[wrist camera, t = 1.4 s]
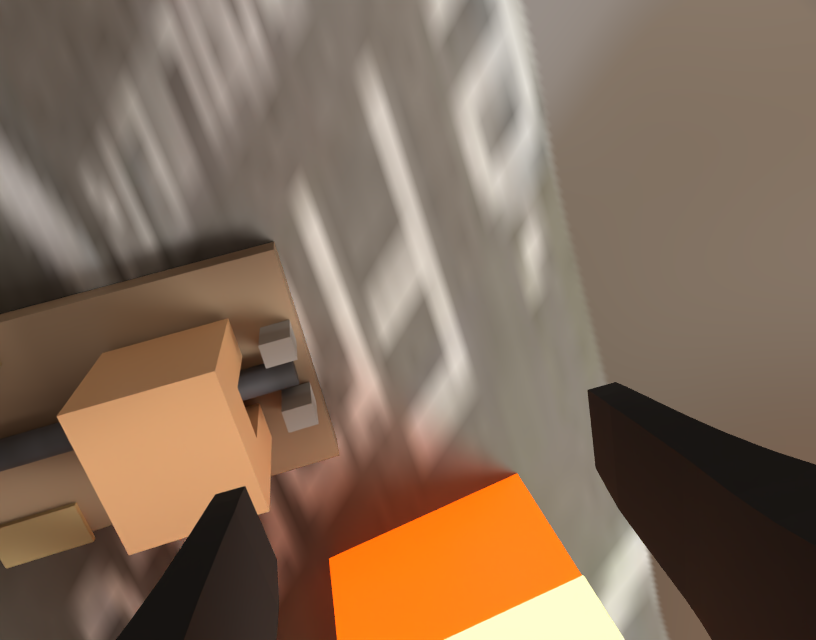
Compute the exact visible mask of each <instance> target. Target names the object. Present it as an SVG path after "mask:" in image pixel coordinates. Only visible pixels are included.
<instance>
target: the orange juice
mask: <svg viewBox="0 0 816 640" xmlns="http://www.w3.org/2000/svg"><path fill="white" fill-rule="evenodd" d="M329 564H330V574H331V583H332V593H333V603H334V613H335V623H336V633H337V640H624V638H623V636H622V635H621V633H620V632H619V630H618V628H617V627H616V625H615V624H614V622H613V621H612V619H611V618H610V616H609V614H608V613H607V611H606V610H605V608H604V607H603V605H602V603H601V602H600V600H599V599H598V597H597V596H596V594H595V592H594V591H593V589H592V588H591V586H590V585H589V583H588V581H587V580H586V578H585V577H584V575H581V573H580V572H579V570H578V568H577V567H576V565H575V564H574V562H573V561H572V559H571V557H570V556H569V554H568V553H567V551H566V550H565V548H564V546H563V545H562V543H561V542H560V540H559V539H558V537H557V535H556V534H555V532H554V531H553V529H552V527H551V526H550V524H549V523H548V521H547V520H546V518H545V516H544V515H543V513H542V512H541V510H540V509H539V507H538V505H537V504H536V502H535V501H534V499H533V498H532V496H531V494H530V493H529V491H528V490H527V488H526V487H525V485H524V483H523V482H522V480H521V479H520V477H519V475H518V474H515V475H512V476H510V477H508V478H506V479H504V480H501V481H499V482H497V483H495V484H493V485H490V486H488V487H486V488H484V489H482V490H479V491H477V492H475V493H473V494H471V495H468V496H466V497H464V498H462V499H459V500H457V501H455V502H453V503H451V504H448V505H446V506H444V507H442V508H440V509H437V510H435V511H433V512H431V513H429V514H426V515H424V516H422V517H420V518H417V519H415V520H413V521H411V522H409V523H406V524H404V525H402V526H400V527H398V528H395V529H393V530H391V531H389V532H387V533H384V534H382V535H380V536H378V537H376V538H373V539H371V540H369V541H367V542H364V543H362V544H360V545H358V546H356V547H353V548H351V549H349V550H347V551H345V552H342V553H340V554H338V555H336V556H334V557H331V558H329Z"/></svg>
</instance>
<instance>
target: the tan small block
mask: <svg viewBox="0 0 816 640" xmlns="http://www.w3.org/2000/svg"><path fill="white" fill-rule="evenodd" d="M241 362H242V354H241V352H240V349H239V346H238V343H237V341H236V338H235V335H234V333H233V330H232V327H231V324H230V322H229V319H228V318H227V319H224V320H220V321H217V322H213V323H209V324H206V325H202V326H198V327H195V328H191V329H188V330H184V331H180V332H177V333H173V334H170V335H166V336H162V337H159V338H155V339H152V340H148V341H144V342H141V343H137V344H133V345H130V346H126V347H123V348H119V349H115V350H112V351H108V352H105V353H102V354H101V356H100V357H99V358H98V360H97V361H96V362H95V364H94V365H93V367H92V368H91V369H90V371H89V372H88V374H87V375H86V376H85V378H84V379H83V380H82V382H81V383H80V385H79V386H78V387H77V389H76V390H75V391H74V393H73V394H72V396H71V397H70V398H69V400H68V401H67V403H66V404H65V405H64V407H63V408H62V409H61V411H60V412H59V414H58V415H57V418H58V420H59V422H60V424H61V426H62V428H63V430H64V432H65V434H66V436H67V438H68V439H69V441H70V443H71V445H72V447H73V449H74V451H75V453H76V455H77V457H78V459H79V461H80V463H81V464H82V466H83V468H84V470H85V472H86V474H87V476H88V478H89V480H90V482H91V484H92V486H93V488H94V489H95V491H96V493H97V495H98V497H99V499H100V501H101V503H102V505H103V507H104V509H105V511H106V513H107V514H108V516H109V518H110V520H111V522H112V524H113V526H114V528H115V530H116V532H117V534H118V536H119V537H120V539H121V541H122V543H123V545H124V547H125V549H126V551H127V553H128V555H131V554H135V553H138V552H141V551H144V550H147V549H151V548H154V547H157V546H160V545H163V544H167V543H170V542H173V541H176V540H179V539H183V538H186V537H188V536H189V535H190V533H191V531H192V530H193V528H194V527H195V525H196V524H197V522H198V520H199V519H200V517H201V516H202V514H203V513H204V511H205V509H206V508H207V506H208V505H209V503H210V502H211V500H212V499H213V497H214V496H215V494H218V493H222V492H225V491H229V490H232V489H236V488H239V487H243V486H245V487H246V489H247V491H248V493H249V496H250V498H251V500H252V503H253V505H254V507H255V510H256V512H257V514H258V515H259V514H263V513H266V512H269V511H270V480H271V449H272V436H271V434H270V431H269V428H268V425H267V423H266V420H265V417H264V414H263V412H262V409H261V406H260V404H259V403H258V404H255V405H252V406H248V407H245V406H244V403H243V401H242V398H241V395H240V393H239V390H238V381H239V375H240V368H241Z"/></svg>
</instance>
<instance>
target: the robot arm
mask: <svg viewBox="0 0 816 640" xmlns="http://www.w3.org/2000/svg"><path fill="white" fill-rule="evenodd" d="M588 399H589V409H590V418H591V428H592V437H593V447H594V456H595V466H596V469H597V471H598V473H599V475H600V477H601V478H602V480H603V482H604V484H605V486H606V488H607V489H608V491H609V493H610V495H611V496H612V498H613V500H614V502H615V503H616V505H617V507H618V509H619V510H620V511H621V513H622V514H623V516H624V517H625V518H626V520H627V521H628V523H629V524H630V525H631V527H632V528H633V529H634V531H635V532H636V533H637V535H638V536H639V538H640V539H641V540H642V542H643V543H644V544H645V546H646V547H647V548H648V550H649V551H650V552H651V554H652V555H653V556H654V558H655V559H656V560H657V562H658V563H659V564H660V566H661V567H662V568H663V570H664V571H665V572H666V574H667V575H668V576H669V578H670V579H671V580H672V582H673V583H674V585H675V586H676V587H677V589H678V590H679V591H680V593H681V594H682V595H683V596H684V598H685V599H686V601H687V602H688V604H689V605H690V607H691V608H692V609H693V611H694V612H695V614H696V615H697V617H698V618H699V620H700V621H701V623H702V624H703V626H704V627H705V629H706V631H707V633H708V634H709V636H710V637H711V639H712V640H816V465H815V464H812V463H809V462H806V461H802V460H800V459H796V458H793V457H790V456H787V455H784V454H781V453H778V452H775V451H772V450H769V449H767V448H764V447H761V446H758V445H756V444H753V443H751V442H748V441H746V440H743V439H741V438H738V437H736V436H733V435H730V434H728V433H725V432H723V431H721V430H718V429H716V428H713V427H711V426H709V425H707V424H704V423H702V422H700V421H698V420H696V419H693V418H691V417H689V416H687V415H684V414H682V413H680V412H678V411H676V410H674V409H671V408H670V407H668V406H665V405H663V404H661V403H659V402H657V401H655V400H653V399H651V398H649V397H647V396H645V395H643V394H640V393H638V392H636V391H634V390H632V389H630V388H628V387H626V386H623V385H621V384H619V383H616V382H614V383H611V384H607V385H604V386H600V387H597V388H593V389H589V390H588ZM278 614H279V596H278V572H277V559H276V556H275V554H274V552H273V549H272V547H271V545H270V542H269V540H268V538H267V535H266V533H265V531H264V528H263V526H262V524H261V521H260V519H259V517H258V514H257V512H256V510H255V507H254V505H253V503H252V500H251V498H250V496H249V493H248V491H247V489H246V487H245V486H243V487H239V488H236V489H232V490H229V491H225V492H222V493H218V494H215V496H214V497H213V499H212V500H211V502H210V503H209V505H208V506H207V508H206V509H205V511H204V513H203V514H202V516H201V517H200V519H199V520H198V522H197V524H196V525H195V527H194V528H193V530H192V531H191V533H190V535H189V536H188V538H187V539H186V541H185V542H184V544H183V546H182V547H181V549H180V550H179V552H178V553H177V555H176V556H175V558H174V559H173V561H172V562H171V564H170V565H169V567H168V568H167V570H166V572H165V573H164V575H163V576H162V578H161V579H160V580H159V582H158V583H157V585H156V586H155V587H154V589H153V590H152V591H151V593H150V594H149V596H148V597H147V598H146V600H145V601H144V603H143V604H142V605H141V607H140V608H139V609H138V611H137V612H136V614H135V615H134V616H133V618H132V619H131V621H130V622H129V623H128V625H127V626H126V627H125V628H124V630H123V631H122V632H121V634H120V635H119V636H118V637H117V639H116V640H277V627H278Z"/></svg>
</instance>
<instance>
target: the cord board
mask: <svg viewBox="0 0 816 640" xmlns="http://www.w3.org/2000/svg"><path fill="white" fill-rule="evenodd" d="M227 318H228V319H229V322H230V324H231V327H232V330H233V333H234V335H235V338H236V341H237V343H238V346H239V349H240V352H241V354H242V362H241V368H240V375H239V381H238V390H239V393H240V395H241V398H242V401H243V403H244V406H245V407H248V406H252V405H255V404H258V403H259V404H260V406H261V409H262V412H263V414H264V417H265V420H266V423H267V425H268V428H269V431H270V434H271V436H272V449H271V476H274V475H277V474H280V473H284V472H287V471H290V470H293V469H297V468H300V467H303V466H307V465H310V464H313V463H316V462H320V461H323V460H326V459H329V458H333V457H336V456H339V450H338V444H337V438H336V435H335V432H334V429H333V426H332V422H331V419H330V416H329V413H328V410H327V407H326V404H325V400H324V397H323V394H322V391H321V388H320V385H319V382H318V378H317V375H316V372H315V369H314V366H313V363H312V359H311V356H310V353H309V350H308V347H307V344H306V341H305V337H304V334H303V331H302V328H301V325H300V322H299V319H298V315H297V312H296V309H295V306H294V303H293V300H292V297H291V293H290V290H289V287H288V284H287V281H286V278H285V274H284V271H283V268H282V265H281V262H280V259H279V256H278V252H277V249H276V246H275V243H274V242H270V243H267V244H263V245H259V246H255V247H252V248H248V249H244V250H240V251H237V252H233V253H229V254H225V255H221V256H218V257H214V258H210V259H206V260H203V261H199V262H195V263H191V264H188V265H184V266H180V267H176V268H173V269H169V270H165V271H161V272H157V273H154V274H150V275H146V276H142V277H139V278H135V279H131V280H127V281H124V282H120V283H116V284H112V285H109V286H105V287H101V288H97V289H94V290H90V291H86V292H82V293H78V294H75V295H71V296H67V297H63V298H60V299H56V300H52V301H48V302H45V303H41V304H37V305H33V306H30V307H26V308H22V309H18V310H14V311H11V312H7V313H3V314H0V560H1V561H2V563H3V564H4V566H5V568H6V569H7V568H10V567H13V566H16V565H20V564H23V563H26V562H29V561H33V560H36V559H39V558H42V557H46V556H49V555H52V554H55V553H59V552H62V551H65V550H68V549H72V548H75V547H78V546H81V545H85V544H88V543H91V542H94V540H95V536H94V534H93V532H92V531H95V530H98V529H101V528H104V527H108V526H111V525H113V524H112V522H111V520H110V518H109V516H108V514H107V513H106V511H105V509H104V507H103V505H102V503H101V501H100V499H99V497H98V495H97V493H96V491H95V489H94V488H93V486H92V484H91V482H90V480H89V478H88V476H87V474H86V472H85V470H84V468H83V466H82V464H81V463H80V461H79V459H78V457H77V455H76V453H75V451H74V449H73V447H72V445H71V443H70V441H69V439H68V438H67V436H66V434H65V432H64V430H63V428H62V426H61V424H60V422H59V420H58V418H57V415H58V414H59V412H60V411H61V409H62V408H63V407H64V405H65V404H66V403H67V401H68V400H69V398H70V397H71V396H72V394H73V393H74V391H75V390H76V389H77V387H78V386H79V385H80V383H81V382H82V380H83V379H84V378H85V376H86V375H87V374H88V372H89V371H90V369H91V368H92V367H93V365H94V364H95V362H96V361H97V360H98V358H99V357H100V356H101V354H102V353H105V352H108V351H112V350H115V349H119V348H123V347H126V346H130V345H133V344H137V343H141V342H144V341H148V340H152V339H155V338H159V337H162V336H166V335H170V334H173V333H177V332H180V331H184V330H188V329H191V328H195V327H198V326H202V325H206V324H209V323H213V322H217V321H220V320H224V319H227Z"/></svg>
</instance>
